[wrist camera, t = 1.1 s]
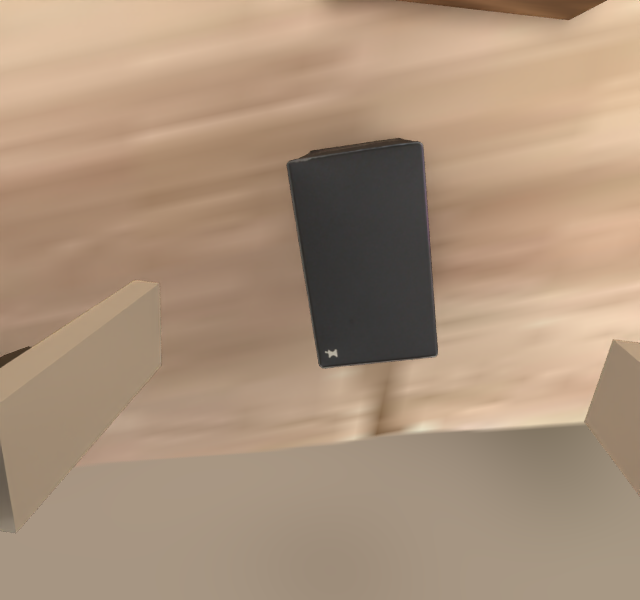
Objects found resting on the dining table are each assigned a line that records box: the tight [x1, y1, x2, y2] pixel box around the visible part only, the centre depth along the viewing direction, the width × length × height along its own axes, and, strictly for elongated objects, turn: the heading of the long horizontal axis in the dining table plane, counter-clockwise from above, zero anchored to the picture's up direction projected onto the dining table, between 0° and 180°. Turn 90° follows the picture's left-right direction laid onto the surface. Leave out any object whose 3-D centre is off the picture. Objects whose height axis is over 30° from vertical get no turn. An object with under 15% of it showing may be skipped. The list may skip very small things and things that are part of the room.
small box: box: [287, 138, 438, 369], centre depth 27 cm, size 11×6×10 cm, turn 8°
